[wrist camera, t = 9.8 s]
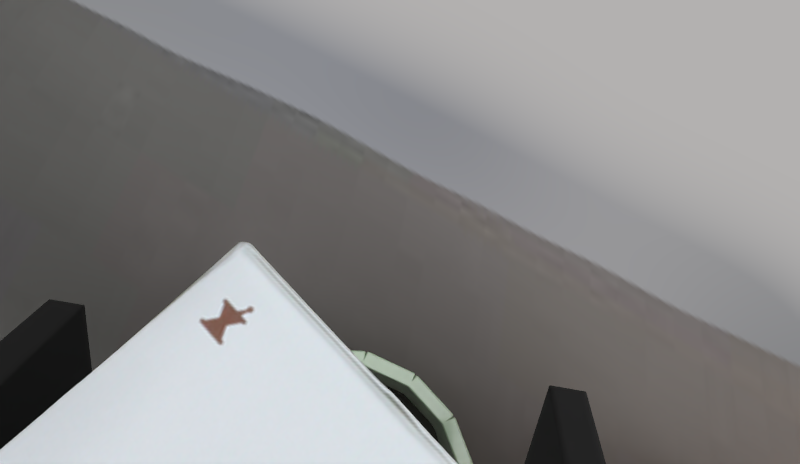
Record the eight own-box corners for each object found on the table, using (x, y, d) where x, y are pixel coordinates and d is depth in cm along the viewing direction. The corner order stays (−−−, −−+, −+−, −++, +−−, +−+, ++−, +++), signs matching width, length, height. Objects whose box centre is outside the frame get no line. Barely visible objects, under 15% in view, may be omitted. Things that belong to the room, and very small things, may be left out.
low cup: (501, 570, 26) (525, 596, 22) (251, 681, 24) (223, 732, 20) (387, 269, 30) (387, 241, 26) (168, 346, 29) (130, 330, 24)
